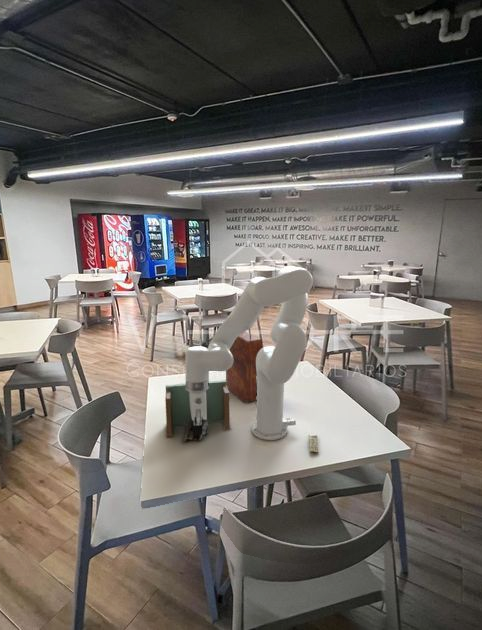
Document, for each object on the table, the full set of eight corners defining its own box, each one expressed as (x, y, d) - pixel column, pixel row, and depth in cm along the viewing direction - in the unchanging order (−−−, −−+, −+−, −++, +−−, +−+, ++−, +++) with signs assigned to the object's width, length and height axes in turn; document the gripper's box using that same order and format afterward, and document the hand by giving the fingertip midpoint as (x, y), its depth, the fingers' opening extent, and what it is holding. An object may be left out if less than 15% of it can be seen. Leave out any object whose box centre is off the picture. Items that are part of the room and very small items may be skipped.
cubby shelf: (226, 417, 130) (225, 380, 127) (229, 429, 122) (229, 389, 119) (167, 424, 125) (165, 385, 122) (167, 437, 116) (165, 395, 113)
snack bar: (319, 452, 108) (310, 449, 108) (317, 456, 108) (308, 452, 108) (317, 435, 117) (309, 432, 117) (315, 438, 118) (308, 435, 118)
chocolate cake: (204, 445, 112) (212, 411, 119) (183, 441, 112) (193, 406, 118) (200, 450, 120) (209, 417, 127) (181, 446, 119) (190, 413, 126)
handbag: (245, 404, 141) (246, 323, 134) (225, 387, 158) (225, 315, 150) (266, 398, 147) (268, 321, 140) (245, 383, 163) (245, 312, 156)
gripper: (211, 392, 104) (210, 445, 108) (206, 374, 118) (206, 421, 122) (186, 394, 102) (187, 447, 106) (184, 375, 117) (185, 423, 120)
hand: (197, 433), depth 114 cm, fingers closed
